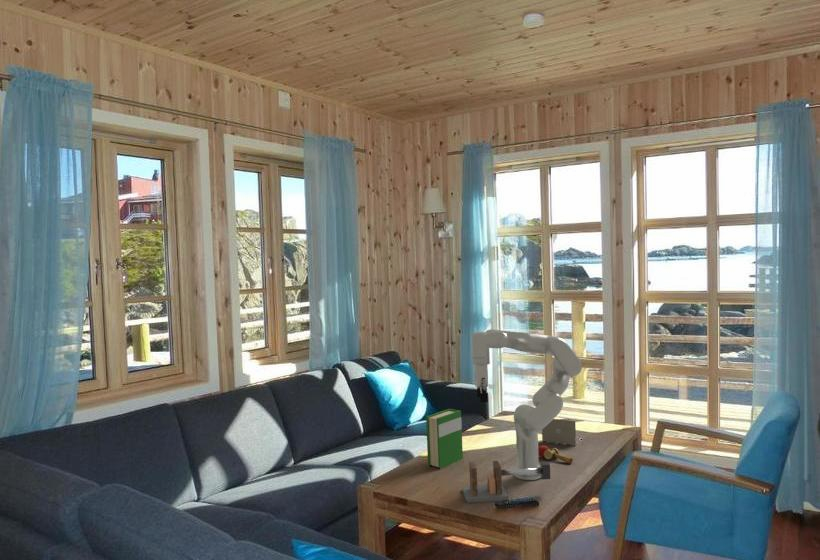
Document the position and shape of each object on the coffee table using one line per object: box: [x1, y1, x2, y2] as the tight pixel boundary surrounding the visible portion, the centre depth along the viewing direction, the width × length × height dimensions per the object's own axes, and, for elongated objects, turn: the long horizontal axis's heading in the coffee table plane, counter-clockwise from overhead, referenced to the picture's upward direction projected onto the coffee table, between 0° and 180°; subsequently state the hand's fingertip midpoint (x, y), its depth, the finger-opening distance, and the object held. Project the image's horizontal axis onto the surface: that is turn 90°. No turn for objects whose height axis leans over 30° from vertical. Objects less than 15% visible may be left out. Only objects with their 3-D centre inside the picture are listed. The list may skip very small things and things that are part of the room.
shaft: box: [501, 461, 551, 480], centre depth 259 cm, size 20×4×6 cm, turn 92°
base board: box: [461, 484, 509, 504], centre depth 259 cm, size 17×14×2 cm
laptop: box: [541, 418, 584, 446], centre depth 330 cm, size 18×12×13 cm
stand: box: [468, 460, 503, 496], centre depth 259 cm, size 12×8×11 cm, turn 92°
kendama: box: [538, 445, 574, 464], centre depth 299 cm, size 8×6×18 cm
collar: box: [486, 473, 496, 494], centre depth 259 cm, size 2×6×6 cm, turn 2°
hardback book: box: [425, 408, 464, 469], centre depth 301 cm, size 18×7×24 cm, turn 138°
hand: (482, 399), depth 273 cm, fingers open, 9 cm apart
